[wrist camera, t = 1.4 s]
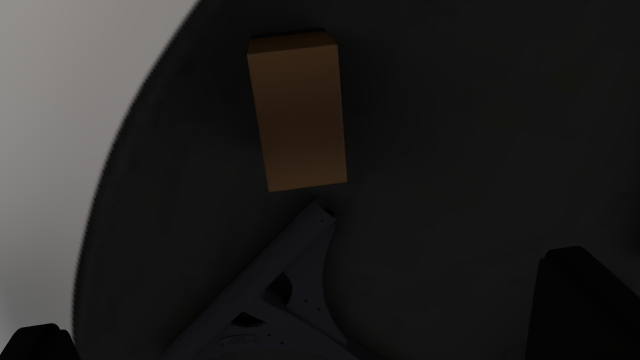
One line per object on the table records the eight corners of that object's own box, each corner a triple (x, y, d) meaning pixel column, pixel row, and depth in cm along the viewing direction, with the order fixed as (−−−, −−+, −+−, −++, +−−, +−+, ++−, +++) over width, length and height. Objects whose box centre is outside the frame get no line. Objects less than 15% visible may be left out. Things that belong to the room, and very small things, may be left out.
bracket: (330, 432, 35) (336, 469, 32) (161, 347, 29) (152, 383, 27) (475, 314, 31) (494, 345, 29) (314, 190, 25) (319, 215, 23)
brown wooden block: (249, 35, 21) (246, 54, 17) (323, 27, 22) (337, 44, 18) (267, 153, 24) (268, 192, 20) (333, 144, 24) (347, 182, 20)
